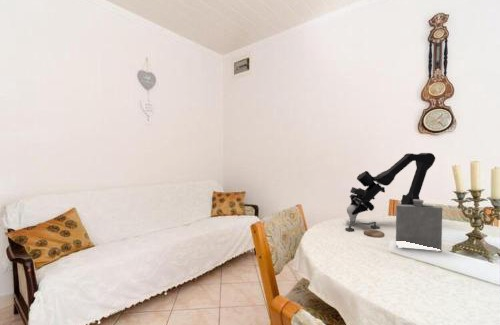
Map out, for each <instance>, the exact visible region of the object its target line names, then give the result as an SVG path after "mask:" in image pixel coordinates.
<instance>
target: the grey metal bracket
mask: <svg viewBox="0 0 500 325" xmlns="http://www.w3.org/2000/svg"><path fill="white" fill-rule="evenodd" d="M354 225H366V226H368V225H369V226H370V228H371V229H372V230H379V229H380V228H381V227H380V225H377V221H371V222H360V221H359V222H357V221H355V223H351V224H350V223H349V224H348V227H345V229H344V230H345V231H347V232H349V233H350V232H351V233H352V232H355V228H353V227H352V226H354Z"/></svg>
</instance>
